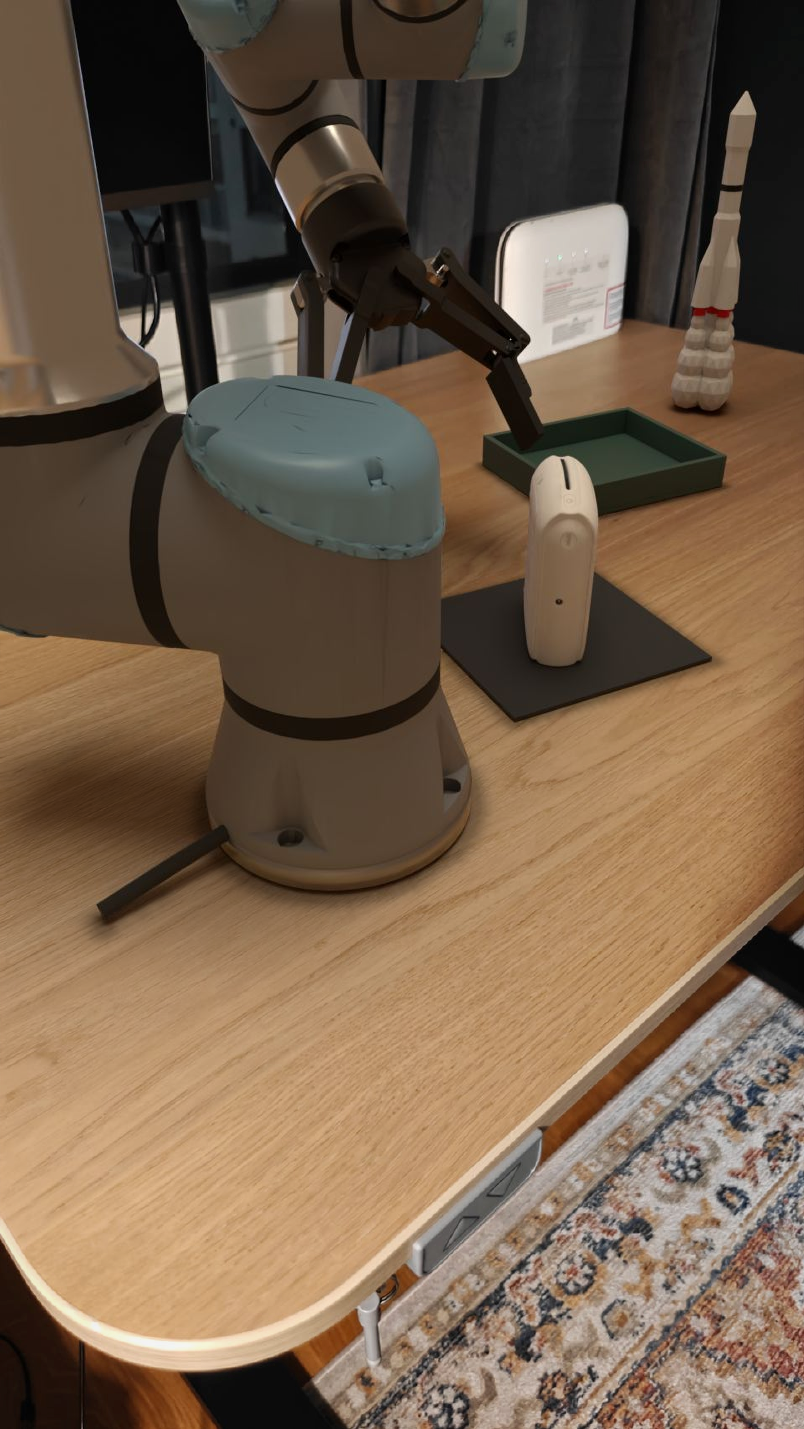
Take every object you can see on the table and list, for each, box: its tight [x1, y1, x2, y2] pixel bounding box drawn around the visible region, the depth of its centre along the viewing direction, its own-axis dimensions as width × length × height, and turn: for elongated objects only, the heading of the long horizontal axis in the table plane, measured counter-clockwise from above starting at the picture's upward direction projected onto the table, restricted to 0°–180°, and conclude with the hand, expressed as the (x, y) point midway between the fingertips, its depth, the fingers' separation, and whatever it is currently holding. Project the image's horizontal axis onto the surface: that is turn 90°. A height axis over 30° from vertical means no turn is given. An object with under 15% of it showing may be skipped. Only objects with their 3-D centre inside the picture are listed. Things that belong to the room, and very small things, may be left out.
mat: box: [441, 571, 713, 722], centre depth 74 cm, size 16×16×1 cm
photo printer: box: [523, 456, 599, 667], centre depth 70 cm, size 10×4×12 cm, turn 177°
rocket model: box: [670, 90, 757, 412], centre depth 105 cm, size 7×7×30 cm
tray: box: [481, 406, 728, 516], centre depth 97 cm, size 17×15×3 cm
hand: (464, 463), depth 75 cm, fingers open, 13 cm apart
